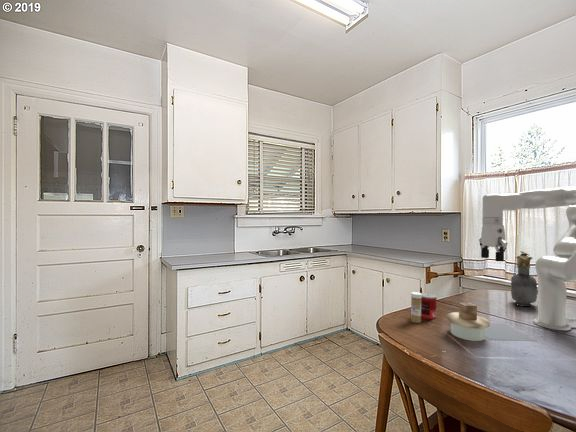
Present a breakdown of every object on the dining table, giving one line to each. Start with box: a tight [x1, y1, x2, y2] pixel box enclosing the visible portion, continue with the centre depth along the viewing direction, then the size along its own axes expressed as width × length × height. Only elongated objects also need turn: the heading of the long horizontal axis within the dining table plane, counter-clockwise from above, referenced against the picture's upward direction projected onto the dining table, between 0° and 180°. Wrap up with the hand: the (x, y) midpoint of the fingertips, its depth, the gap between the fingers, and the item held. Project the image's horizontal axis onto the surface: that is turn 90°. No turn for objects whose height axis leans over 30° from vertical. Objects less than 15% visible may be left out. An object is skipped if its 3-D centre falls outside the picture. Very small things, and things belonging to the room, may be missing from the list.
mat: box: [485, 322, 537, 342], centre depth 122 cm, size 18×18×1 cm
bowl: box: [450, 322, 486, 342], centre depth 119 cm, size 12×12×6 cm
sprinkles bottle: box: [410, 291, 422, 324], centre depth 134 cm, size 5×5×14 cm
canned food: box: [420, 292, 438, 321], centre depth 140 cm, size 8×8×11 cm
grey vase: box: [510, 250, 538, 307], centre depth 161 cm, size 11×19×30 cm, turn 145°
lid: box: [446, 302, 491, 329], centre depth 119 cm, size 15×15×7 cm
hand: (492, 259), depth 129 cm, fingers open, 9 cm apart
